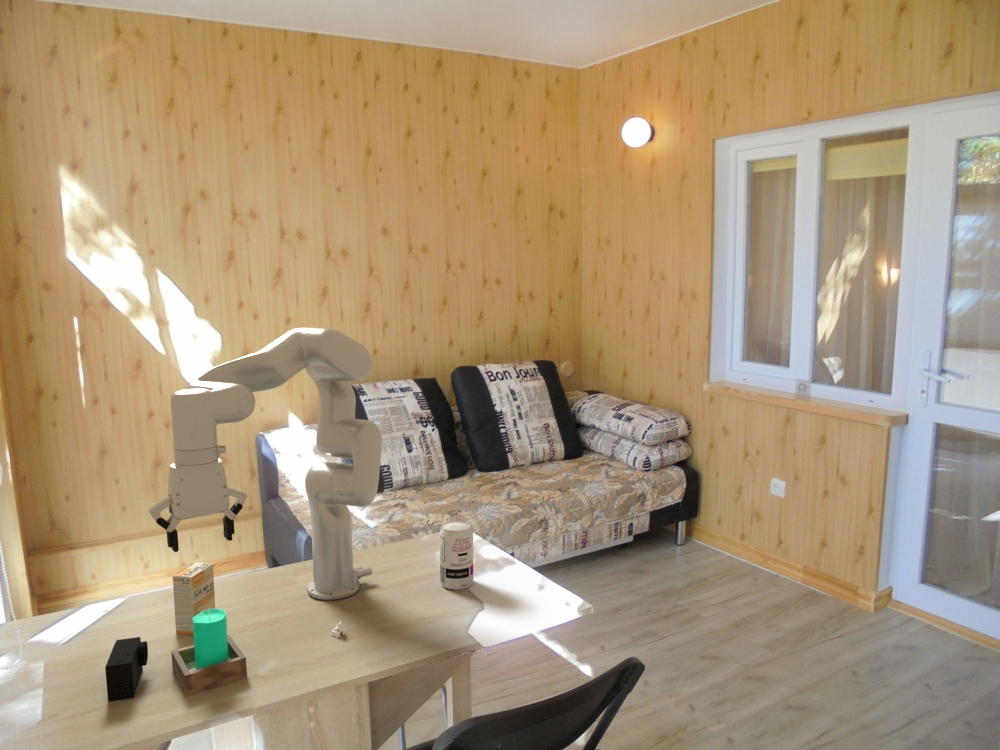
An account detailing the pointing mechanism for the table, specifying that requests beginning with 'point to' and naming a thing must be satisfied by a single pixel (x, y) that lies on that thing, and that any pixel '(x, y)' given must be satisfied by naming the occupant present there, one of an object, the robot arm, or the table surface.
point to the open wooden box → (207, 669)
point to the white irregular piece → (338, 630)
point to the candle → (210, 638)
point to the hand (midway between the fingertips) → (202, 544)
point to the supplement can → (456, 555)
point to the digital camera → (125, 668)
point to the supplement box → (192, 594)
